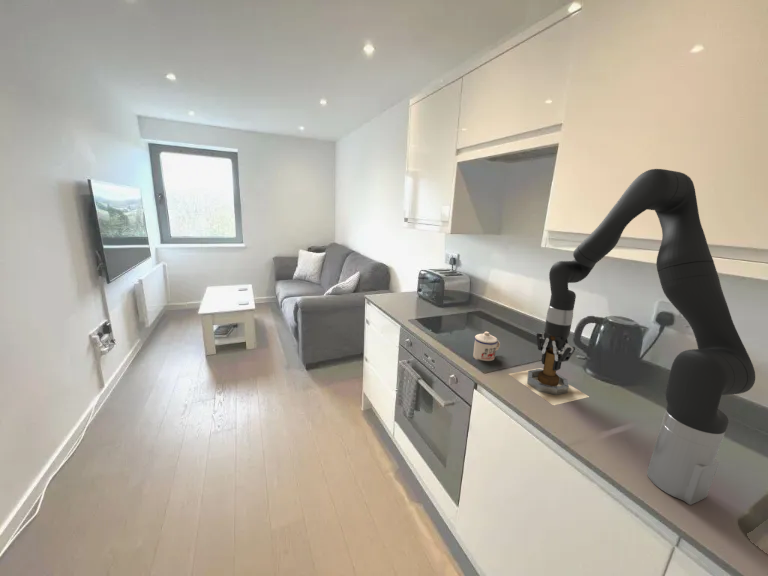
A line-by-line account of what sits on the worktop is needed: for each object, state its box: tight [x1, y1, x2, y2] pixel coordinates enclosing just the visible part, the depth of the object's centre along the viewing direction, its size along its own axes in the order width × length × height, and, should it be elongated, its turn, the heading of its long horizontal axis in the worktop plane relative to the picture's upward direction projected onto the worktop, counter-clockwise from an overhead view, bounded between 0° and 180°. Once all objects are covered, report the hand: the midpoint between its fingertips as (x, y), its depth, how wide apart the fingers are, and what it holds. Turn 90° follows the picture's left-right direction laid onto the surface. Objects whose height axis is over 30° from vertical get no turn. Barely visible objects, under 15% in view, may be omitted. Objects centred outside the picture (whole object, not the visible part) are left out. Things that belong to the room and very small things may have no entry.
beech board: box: [508, 367, 590, 406], centre depth 108 cm, size 20×16×1 cm
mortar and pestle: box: [538, 335, 559, 386], centre depth 105 cm, size 7×6×18 cm
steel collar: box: [527, 368, 569, 396], centre depth 108 cm, size 12×12×2 cm
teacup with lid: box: [472, 331, 501, 362], centre depth 127 cm, size 12×9×12 cm
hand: (550, 366), depth 106 cm, fingers closed on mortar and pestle, 4 cm apart
